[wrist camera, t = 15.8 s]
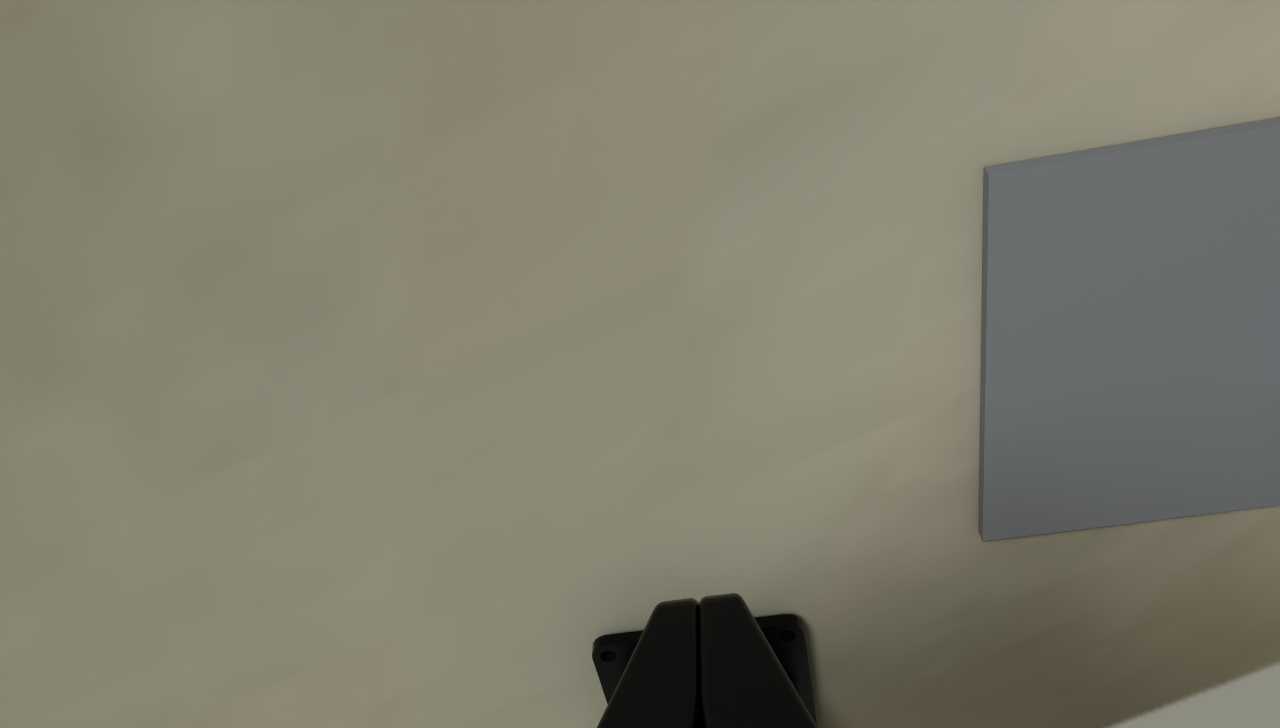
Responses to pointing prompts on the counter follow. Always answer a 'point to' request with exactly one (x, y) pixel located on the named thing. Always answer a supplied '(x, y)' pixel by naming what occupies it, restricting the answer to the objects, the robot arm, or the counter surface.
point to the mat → (1131, 333)
